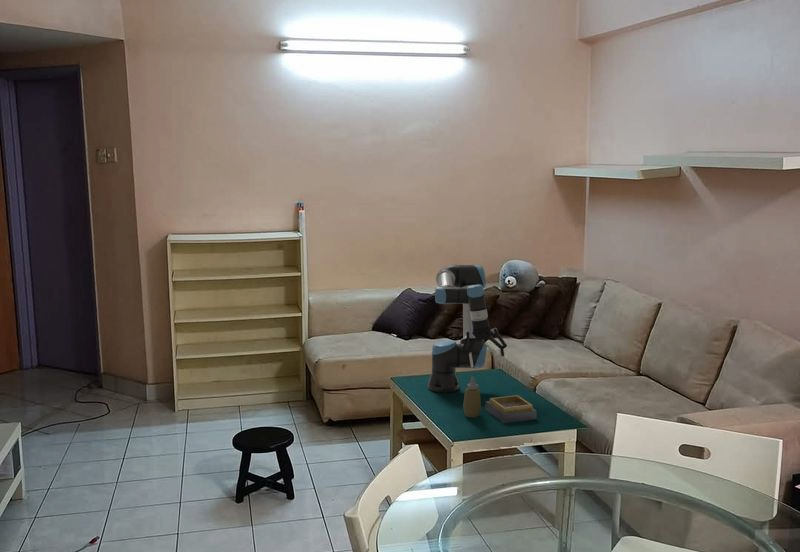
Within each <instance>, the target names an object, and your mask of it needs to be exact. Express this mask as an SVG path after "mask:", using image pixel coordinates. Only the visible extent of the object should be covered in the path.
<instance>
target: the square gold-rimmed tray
mask: <svg viewBox="0 0 800 552" xmlns="http://www.w3.org/2000/svg"><path fill="white" fill-rule="evenodd" d="M484 409H485V411H486V412H488V414H490V415H491V416H493V417H494V418H496V419H497V420H498V421H500V422H501V423H503V424H509V423H517V422H526V421H532V420H533V421H534V420H537V415H538V414H537V413H538V412H537V409H535V408H534V405H533V404H532V403H530V402H529V401H527V400H525V398H523V397H521V396H520V395H518V394H515V395H506V396H499V397H489V400H486V401H485V408H484Z"/></svg>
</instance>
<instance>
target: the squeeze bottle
mask: <svg viewBox="0 0 800 552" xmlns="http://www.w3.org/2000/svg"><path fill="white" fill-rule="evenodd" d="M463 397H464V398H463V404H462V409H463V412H464V416H465V417H468V418H479V415H480V412H481V411H482V403H481V390H480V389H479V384H478V383H476V379H475V376H471V377H470V381H469V383H467V386H466V389H464V396H463Z"/></svg>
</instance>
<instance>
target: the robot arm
mask: <svg viewBox="0 0 800 552" xmlns="http://www.w3.org/2000/svg"><path fill="white" fill-rule="evenodd" d="M435 280H436V281H435V282H436V284H437V285H438V286H436V288H435V292H434V293H435V294H434V296H435V297H434V299H435V300H434V301H435V303H436V304H441V305H443V304H445V305H446V304H447V305H448V304H459V305H460V304H461V305H462V321H463V322H462V331H463V332H462V336H463V338H461V339H460V341H459V343H457V341H455V340H453V339H445V340H439V341H436V342H435V343H434V344H433V345H432V349H431V350H432V351H431V373H430V376H429V379H428V382H427V389H428V390H430V391H432V392H435V393H453V392H456V391H458V390H459V387H460V383H459V380H458V378H457V377H458V376H457V374H456V369H483V368H484V367H485V365H486V361H487V360H486V358H487V352H488V345H487V344H486V343H485V340H489V341H491V343H493V344H494V345H495V346H496V347H497V348H499V349H498V353H499V359H500V361H499V362H500V365H503V364H504V359H503V357H504V356H505V348H507V347H508V345H507V343H506V341H505V340H504V339H503V337H502V335H500V333H499V331H498V328H497V327H494V328H491V326H490V321H489V318H488V317H489V315H488V314H489V313H488V309H487V304H486V297H485V290H484V289H485V288H486V286H487V285H486V283H487V282H486V281H487V280H486V273H485V269H484V267H483V266H482V265H480V264H479V265H478V264H477V265H476V264H450V265H447V266H445V267H443V268H441V269H440V270H439V271H438V272H437V273H436V276H435ZM491 333H493V334H494V335H495V337H497V339H498V340H499V342H498V340H497V339H495V338H494V337H493V335H492V334H491Z"/></svg>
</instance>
